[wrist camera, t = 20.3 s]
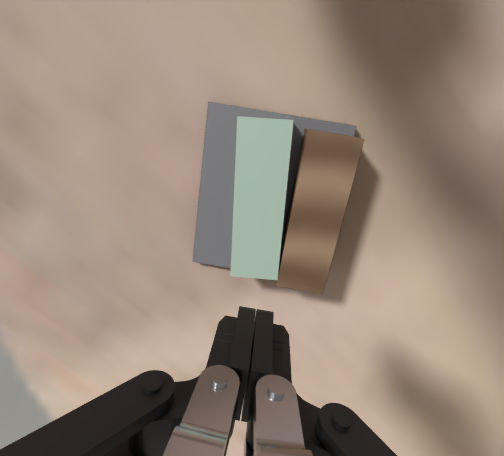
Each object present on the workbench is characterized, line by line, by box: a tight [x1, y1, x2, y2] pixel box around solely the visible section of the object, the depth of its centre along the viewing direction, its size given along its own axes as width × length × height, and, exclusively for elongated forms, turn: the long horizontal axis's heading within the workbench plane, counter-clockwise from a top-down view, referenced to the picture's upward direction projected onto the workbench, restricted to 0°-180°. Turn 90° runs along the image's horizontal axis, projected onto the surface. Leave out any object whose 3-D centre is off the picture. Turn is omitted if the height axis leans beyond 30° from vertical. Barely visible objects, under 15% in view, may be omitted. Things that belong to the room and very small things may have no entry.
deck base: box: [193, 102, 356, 268], centre depth 35 cm, size 18×15×1 cm
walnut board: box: [276, 128, 364, 294], centre depth 32 cm, size 16×5×4 cm, turn 171°
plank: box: [230, 116, 294, 280], centre depth 32 cm, size 16×5×4 cm, turn 177°
